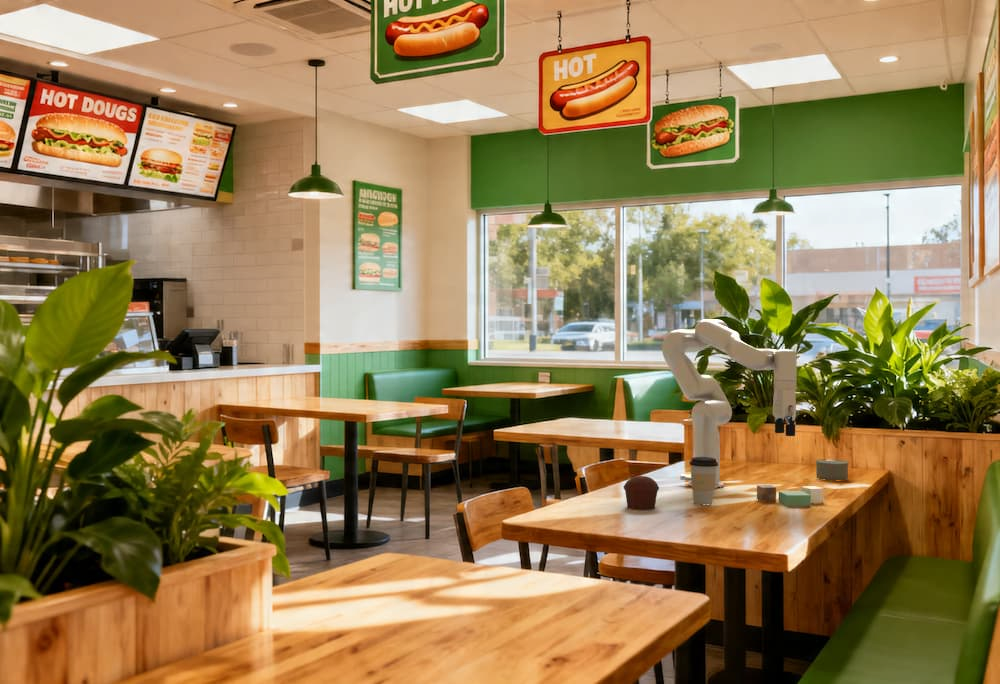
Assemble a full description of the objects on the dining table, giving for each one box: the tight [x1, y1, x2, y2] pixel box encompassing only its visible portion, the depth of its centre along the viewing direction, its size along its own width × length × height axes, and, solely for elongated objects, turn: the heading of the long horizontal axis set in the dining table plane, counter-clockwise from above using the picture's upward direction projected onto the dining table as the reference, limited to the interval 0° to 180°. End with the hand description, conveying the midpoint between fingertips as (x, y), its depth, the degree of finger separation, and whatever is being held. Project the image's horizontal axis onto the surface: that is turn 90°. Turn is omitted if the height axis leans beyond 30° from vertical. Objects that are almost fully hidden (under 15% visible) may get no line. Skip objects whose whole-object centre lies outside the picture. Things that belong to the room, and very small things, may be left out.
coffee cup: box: [689, 456, 718, 505], centre depth 311 cm, size 9×9×15 cm
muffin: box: [623, 475, 660, 511], centre depth 304 cm, size 12×11×10 cm
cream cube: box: [801, 485, 824, 504], centre depth 316 cm, size 5×5×5 cm
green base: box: [778, 490, 812, 507], centre depth 312 cm, size 8×8×4 cm
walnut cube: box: [756, 484, 777, 503], centre depth 318 cm, size 5×5×5 cm
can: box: [815, 458, 849, 481], centre depth 367 cm, size 12×12×7 cm
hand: (784, 434), depth 326 cm, fingers open, 9 cm apart
